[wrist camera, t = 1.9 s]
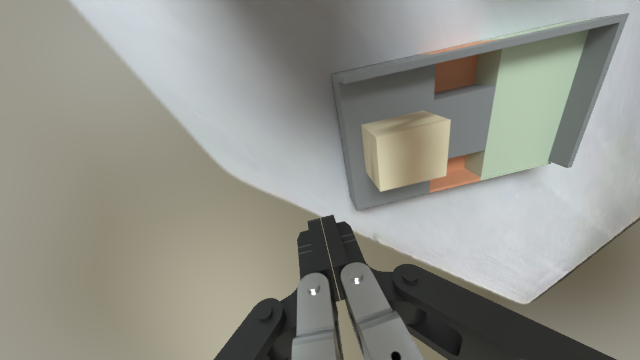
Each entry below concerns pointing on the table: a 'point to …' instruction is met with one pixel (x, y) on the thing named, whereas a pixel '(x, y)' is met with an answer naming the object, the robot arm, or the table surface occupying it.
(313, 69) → the table surface
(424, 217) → the table surface
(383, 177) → the birch block
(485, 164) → the box
